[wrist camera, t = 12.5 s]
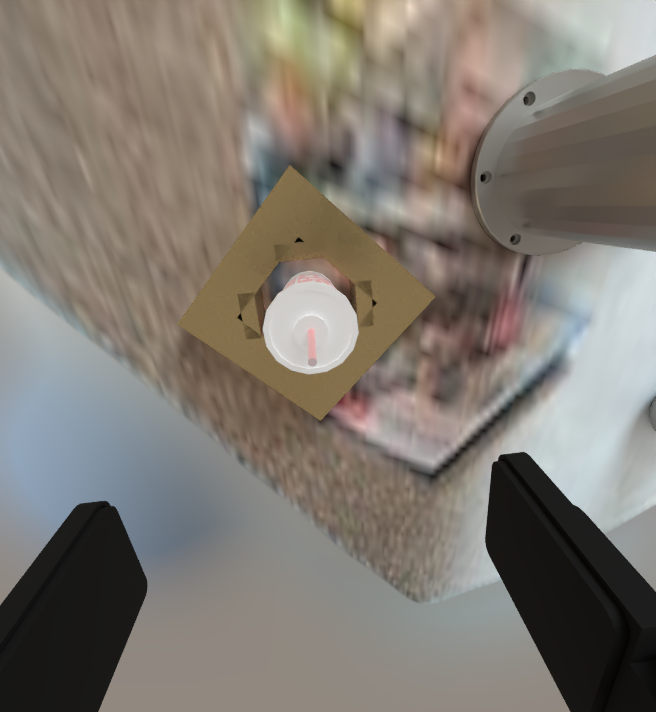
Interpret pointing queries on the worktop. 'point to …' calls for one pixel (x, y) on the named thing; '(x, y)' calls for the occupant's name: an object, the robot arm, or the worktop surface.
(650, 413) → the plastic bottle
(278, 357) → the beverage cup
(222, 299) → the block
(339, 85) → the worktop surface
